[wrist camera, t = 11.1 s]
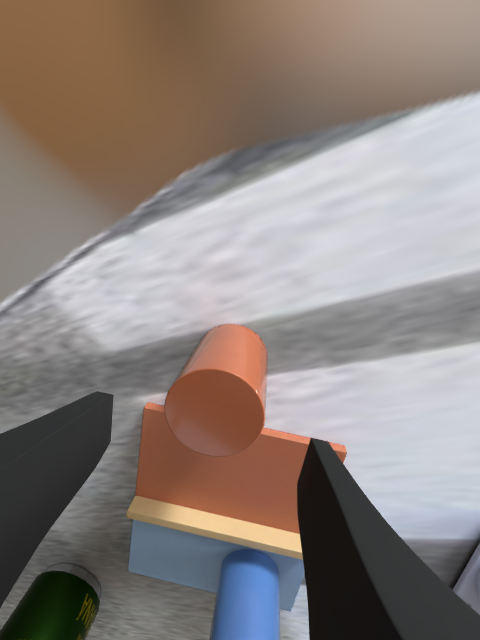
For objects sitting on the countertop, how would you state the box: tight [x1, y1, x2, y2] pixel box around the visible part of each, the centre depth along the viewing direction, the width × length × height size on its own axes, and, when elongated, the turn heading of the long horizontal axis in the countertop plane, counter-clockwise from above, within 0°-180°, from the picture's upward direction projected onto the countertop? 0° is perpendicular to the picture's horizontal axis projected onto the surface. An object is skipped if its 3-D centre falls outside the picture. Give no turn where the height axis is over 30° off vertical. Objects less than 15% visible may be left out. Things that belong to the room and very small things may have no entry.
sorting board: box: [127, 403, 347, 611], centre depth 20 cm, size 12×14×2 cm
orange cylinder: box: [165, 324, 268, 457], centre depth 15 cm, size 4×4×6 cm
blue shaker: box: [209, 549, 280, 640], centre depth 19 cm, size 4×4×6 cm
